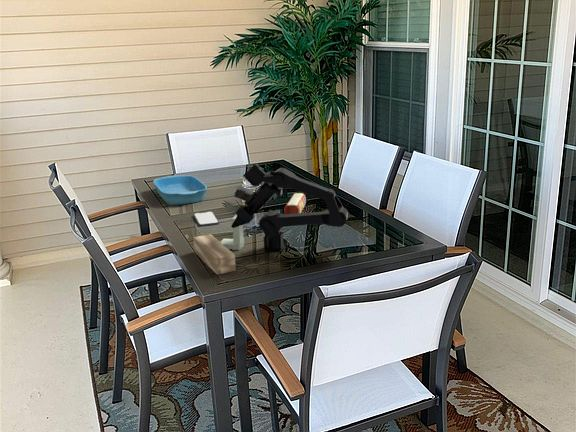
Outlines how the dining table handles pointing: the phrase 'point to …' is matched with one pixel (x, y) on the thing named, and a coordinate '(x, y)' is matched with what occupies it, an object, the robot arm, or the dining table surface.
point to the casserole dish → (180, 189)
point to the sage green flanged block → (235, 238)
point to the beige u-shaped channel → (214, 254)
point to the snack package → (295, 204)
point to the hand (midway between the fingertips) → (235, 223)
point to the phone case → (206, 219)
